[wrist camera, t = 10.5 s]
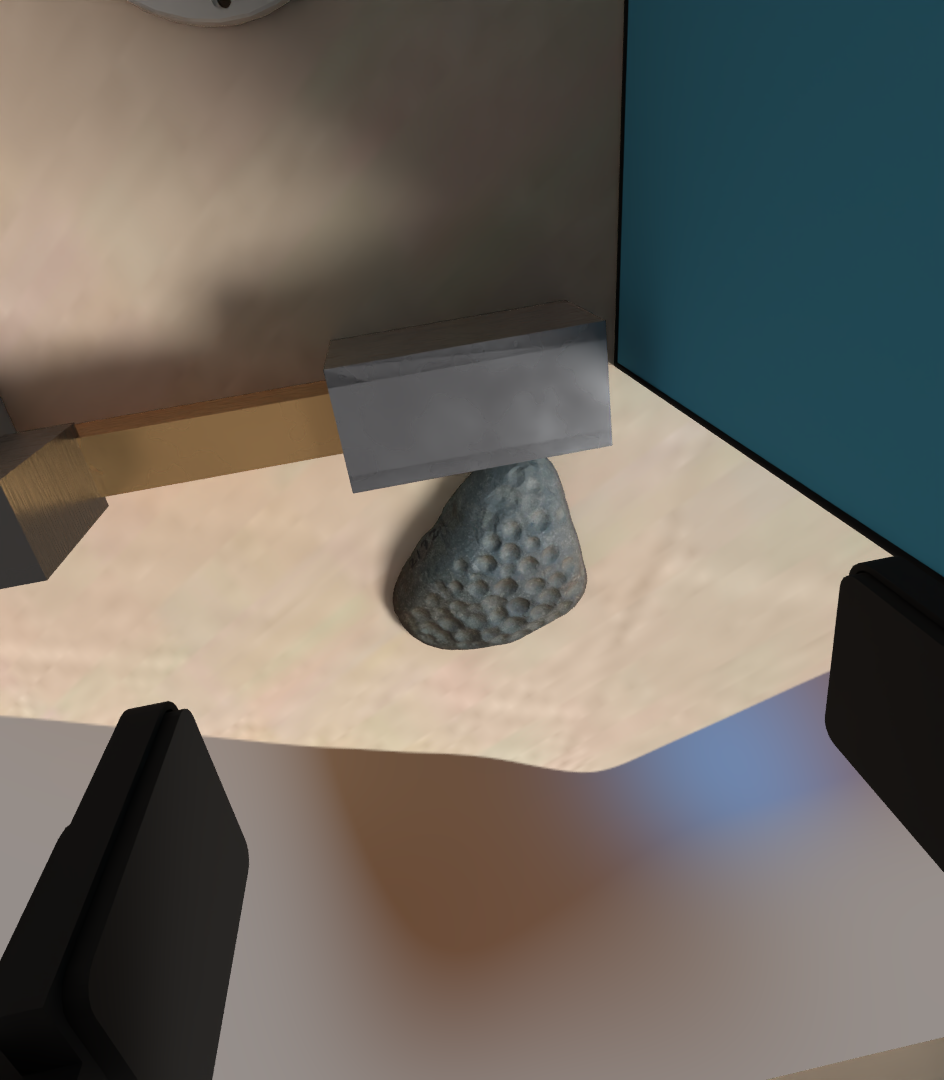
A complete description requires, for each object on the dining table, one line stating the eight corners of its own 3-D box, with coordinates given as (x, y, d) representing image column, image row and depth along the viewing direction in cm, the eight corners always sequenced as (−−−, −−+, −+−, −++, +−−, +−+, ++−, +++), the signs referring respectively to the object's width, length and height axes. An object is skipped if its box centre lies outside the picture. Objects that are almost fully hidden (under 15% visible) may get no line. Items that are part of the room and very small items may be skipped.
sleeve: (330, 340, 35) (323, 369, 29) (566, 300, 35) (605, 320, 30) (354, 447, 37) (353, 493, 31) (574, 407, 38) (612, 445, 32)
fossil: (618, 547, 43) (641, 578, 39) (455, 669, 45) (463, 709, 41) (522, 426, 38) (538, 449, 35) (347, 568, 41) (345, 602, 37)
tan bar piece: (-95, 440, 32) (-258, 526, 24) (380, 357, 33) (385, 411, 25) (-53, 518, 34) (-191, 625, 25) (396, 436, 35) (406, 512, 27)
